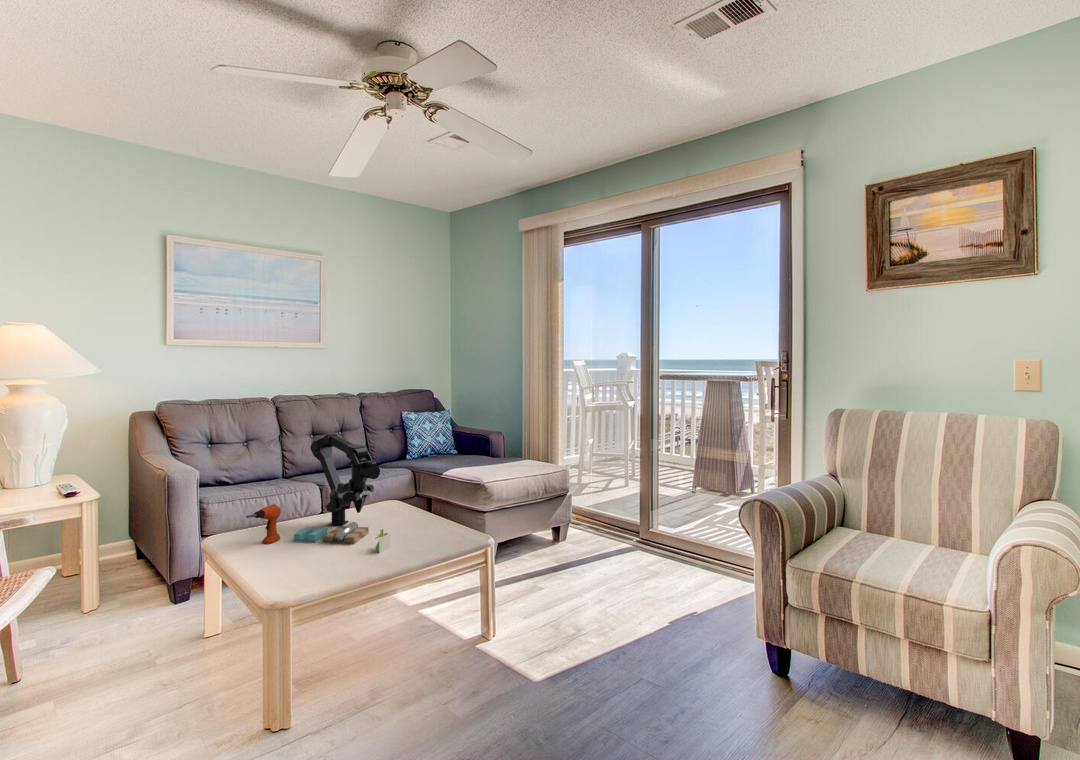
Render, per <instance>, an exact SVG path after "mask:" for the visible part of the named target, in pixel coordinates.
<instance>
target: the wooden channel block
mask: <svg viewBox="0 0 1080 760" xmlns="http://www.w3.org/2000/svg"><path fill="white" fill-rule="evenodd" d="M345 526H346V525H345ZM345 526H344V525H343V526H336V528H334V529H332V530H331V531H328V532H327V534H326V535H324V536H323V538H322V544H337V545H338V544H341V545H342V544H343V545H355V544H356V543H358V542H359V541H360V540H362V539H363V538H364V537H366V536H367V535H368V534H370V533H369V529H370V528H369V526H358V528H357V529H356V530H354V531H353V532H351V533H350V534H348V535H347V536H346V537H344V540H343V541H341V542H336V541H335V540H334V538H333V536H334V534H335V533H336V532H338V531H339V530H341V529H342V528H344V527H345Z"/></svg>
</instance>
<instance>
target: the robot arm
mask: <svg viewBox="0 0 1080 760" xmlns="http://www.w3.org/2000/svg"><path fill="white" fill-rule="evenodd" d="M309 447H310V448H309V449H310V450H311V453H312V455H313V457H314V458H316V459H317V460H318V461H319V462H320V465H321V468H322V469H323V473H324V476H325V478H326V482H327V484H328V486H329V489H330V494H329V502H328V503H327V505H326V506H325V509H326V512H328V513H331V522H329V523H328V524H327V525H328V526H333V527H335V526H336V527H339V526H344V525H346V524H348V523H349V520H346V510H348V509H350V507H351V504H352V502H353V505H354V508H355V510H356V511H355V512H356V513H358V514H359V513H361V511H362V509H363V507H364V504H365V503H366V500H367V499H368V496H369V494H366V492H370V493H372V492H374V489H375V486H374V485H373V484H366V481H368V479H371V480H376V479H378V478H379V477H380V475H381V469H380V467H379V466H378V465H377V462H375V461H374V460H373V458H372V456H371V454H370V452H369V449H368V447H367V446H365V445H362V444H354V443H352V442H351V441H349V440H346V439H344V438H343V437H341V436H340V435H338V434H336V433H329V434H326V435H324V436H323V437H320V438H319V439H317V440H313V441H312V442H311V444H310V446H309ZM333 447H334V448H335V449H338V450H339V451H341V452H342V453H344V454H345V455H346V458H348V459H349V460H350V461H349V462H348V463H347V465H348V466H351V475H350V476H351V478H350V479H349V480H348V482H346V483H343V482H342V481H341V479H340V476H339V473H338V471H337V468H336V466H335V463H334V460H333V458H332V454H333Z"/></svg>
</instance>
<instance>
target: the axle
mask: <svg viewBox="0 0 1080 760" xmlns="http://www.w3.org/2000/svg"><path fill="white" fill-rule="evenodd" d="M358 527H359V524H358V523H357V522H355V521H352V522H350V523H348V524H347V525H345V527H344V528H342V529H341V530H339V531H338V532H336V533H335V534H334V536H333V538H334V540H335V541H336V542H341V541H343V540H344V537H346V536H347V535H348V534H350V533H351V532H353V531H354V530H356V529H357V528H358Z"/></svg>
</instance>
